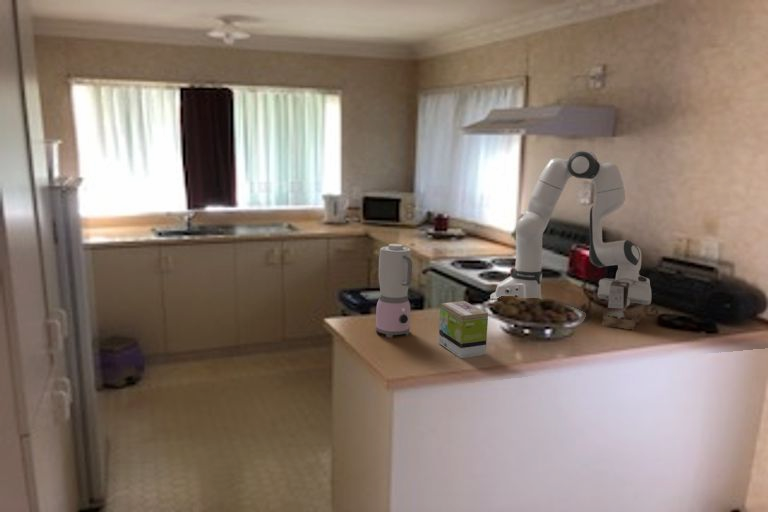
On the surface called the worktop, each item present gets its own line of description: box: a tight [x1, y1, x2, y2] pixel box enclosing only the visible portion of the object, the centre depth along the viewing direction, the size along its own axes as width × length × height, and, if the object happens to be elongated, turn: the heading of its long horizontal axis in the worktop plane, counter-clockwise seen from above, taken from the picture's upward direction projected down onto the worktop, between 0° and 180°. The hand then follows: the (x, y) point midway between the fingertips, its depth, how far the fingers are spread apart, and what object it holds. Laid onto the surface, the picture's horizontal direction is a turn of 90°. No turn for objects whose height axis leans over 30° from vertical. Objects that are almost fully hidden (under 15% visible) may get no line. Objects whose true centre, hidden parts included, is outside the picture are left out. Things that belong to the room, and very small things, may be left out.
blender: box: [375, 243, 413, 339], centre depth 209 cm, size 16×12×32 cm
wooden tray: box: [601, 308, 641, 331], centre depth 232 cm, size 14×13×4 cm
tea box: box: [438, 300, 489, 359], centre depth 197 cm, size 15×10×15 cm
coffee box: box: [607, 281, 629, 320], centre depth 231 cm, size 9×6×16 cm
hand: (621, 309), depth 236 cm, fingers closed
